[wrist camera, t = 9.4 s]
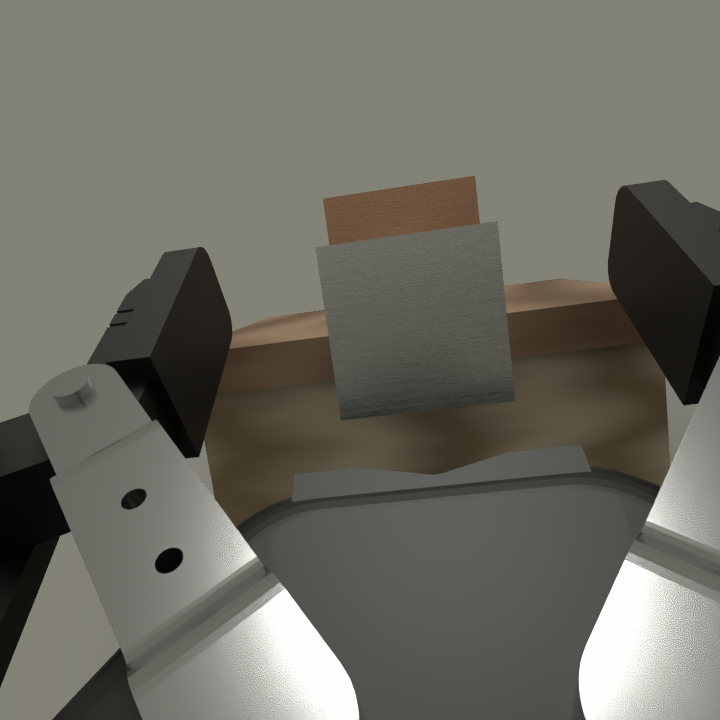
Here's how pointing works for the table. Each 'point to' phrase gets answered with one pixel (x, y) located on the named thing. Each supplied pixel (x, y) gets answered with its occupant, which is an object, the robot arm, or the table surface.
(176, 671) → the robot arm
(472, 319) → the gray and brown block
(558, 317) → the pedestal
